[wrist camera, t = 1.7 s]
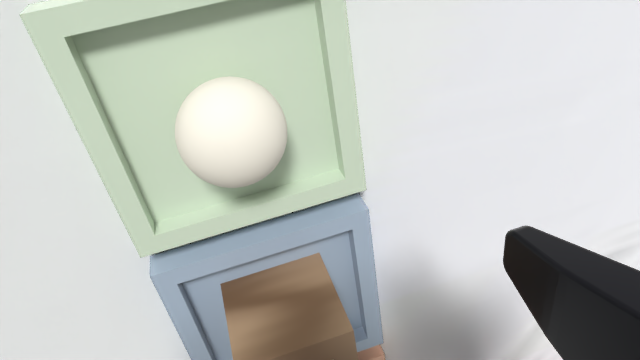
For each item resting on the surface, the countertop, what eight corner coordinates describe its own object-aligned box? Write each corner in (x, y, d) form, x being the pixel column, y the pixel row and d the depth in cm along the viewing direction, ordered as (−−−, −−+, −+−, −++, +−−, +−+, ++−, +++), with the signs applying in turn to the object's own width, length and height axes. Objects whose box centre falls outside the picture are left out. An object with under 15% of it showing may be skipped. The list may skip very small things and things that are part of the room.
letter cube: (244, 347, 23) (262, 437, 20) (220, 283, 21) (235, 373, 17) (332, 317, 24) (365, 399, 20) (319, 252, 21) (354, 332, 18)
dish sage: (141, 237, 19) (140, 257, 18) (28, 4, 14) (19, 14, 13) (356, 174, 20) (366, 189, 19) (327, -59, 15) (339, -54, 14)
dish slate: (210, 382, 25) (213, 403, 24) (149, 256, 19) (149, 276, 18) (374, 325, 26) (383, 342, 25) (358, 193, 21) (368, 209, 20)
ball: (190, 165, 17) (198, 223, 15) (157, 75, 15) (159, 122, 13) (283, 140, 18) (307, 190, 15) (263, 50, 16) (287, 88, 13)
